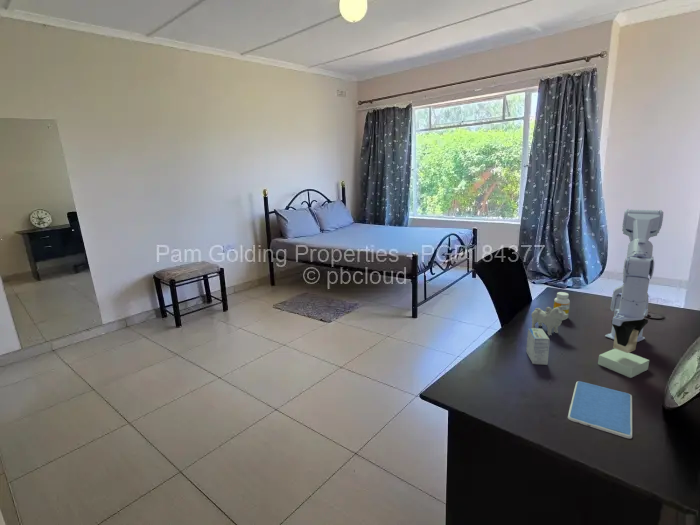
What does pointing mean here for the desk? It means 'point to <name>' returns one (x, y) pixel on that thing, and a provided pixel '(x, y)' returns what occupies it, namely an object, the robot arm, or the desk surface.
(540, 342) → the medicine box
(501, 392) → the desk surface
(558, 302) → the supplement bottle
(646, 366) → the sage base block
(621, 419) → the tablet computer
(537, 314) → the white animal figurine
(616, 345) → the maple block
